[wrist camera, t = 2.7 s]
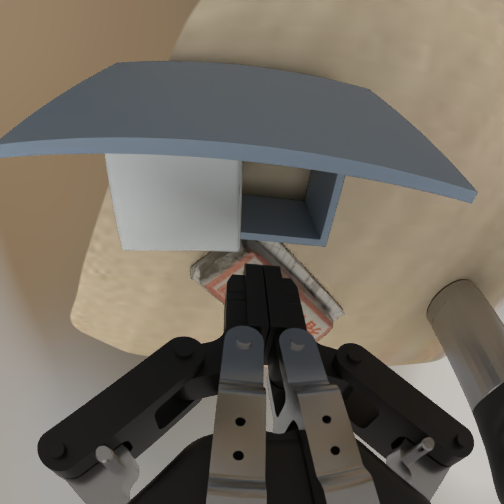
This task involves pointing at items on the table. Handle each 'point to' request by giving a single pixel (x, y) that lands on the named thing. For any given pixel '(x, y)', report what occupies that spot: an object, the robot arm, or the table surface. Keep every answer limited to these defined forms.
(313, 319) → the packaged product
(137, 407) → the robot arm
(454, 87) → the table surface
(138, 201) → the supplement box
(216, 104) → the lid
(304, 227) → the open blue-gray box
